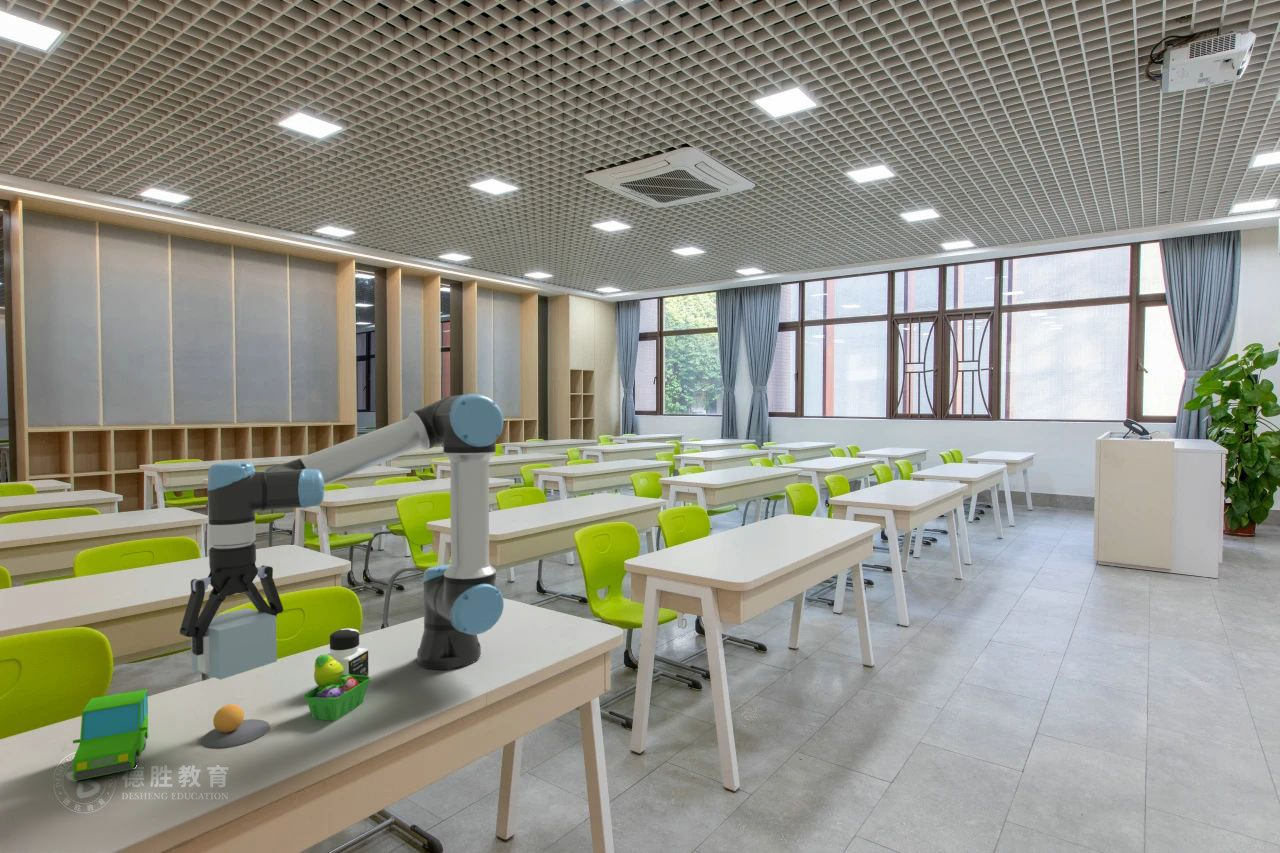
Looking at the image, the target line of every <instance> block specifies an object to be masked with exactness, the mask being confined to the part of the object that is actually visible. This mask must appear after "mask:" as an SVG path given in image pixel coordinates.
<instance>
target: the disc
mask: <svg viewBox="0 0 1280 853" xmlns="http://www.w3.org/2000/svg"><path fill="white" fill-rule="evenodd" d="M270 726H271V725H270V723H269V722H268V721H266V720H264V719H254V718H253V719H249V718H248V719H243V722H242V723H241V725H240V726H239V727H238V728H237V729H236V730H234V731H232V732H228V733H222V732H219V731H218V730H217V729H216V728H215V727H214V729H211V730H209V731H208V732H207V733H205V734H204V735H203V736H202V738H201V743H202V745H203V746H204V747H206V748H211V749H226V748H232V747H238V746H241V745H245V744H248V743H251V742H253V741H255V740H257V739H260V738H261V737H262V736H264V735H265V734H266V733H267V732H268V731H269V730H270Z"/></svg>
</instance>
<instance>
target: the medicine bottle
mask: <svg viewBox="0 0 1280 853" xmlns="http://www.w3.org/2000/svg"><path fill="white" fill-rule="evenodd" d="M326 655H328V656H331V657H332V658H333V659H335V660H336V661H338V662H339V663H340V664H341V665H342V666H343V669H344V671H343V674H351V675H360V676H369V671H370V670H369V649H368V648H363V647H360V632H359V630H358V629H355V628H341V629H339V630H335V631H334V632H331V633H330V635H329V653H326ZM369 677H370V676H369Z"/></svg>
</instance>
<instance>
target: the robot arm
mask: <svg viewBox="0 0 1280 853" xmlns="http://www.w3.org/2000/svg"><path fill="white" fill-rule="evenodd" d="M503 428H504V418H503V414H502V411H501V408H500V407H499V405H498V404H496V402H495V401H494V400H492V398H489V397H488V396H485V395H482V394H477V393H464V394H456V395H450V396H446V397H444V398H441V399H438V400H437V401H435V402H433V403H431V404H429V405H426V406H424V407H421V408H420V409H417V410H414V411H412V412H410V413H409V415H408V417H407V418H405V419H403V420H402V419H401V420H399V421H397V422H394V423H391V424H388V425H385V426H384V427H381V428H378V429H375V430H373V431H370V432H366V433H365V434H364V433H363V434H361V435H359V436H356V437H353V438H351V439H348V440H345V441H343V442H340V443H337V444H334V445H332V446H329V447H326V448H324V449H320V450H318V451H316V452H313V453H311V454H308V455H304V456H302V457H299V458H297V459H294V460H292V461H291V460H290V461H289V462H285V463H283V464H276V465H272V466H270V467H268V468H267V469H265V470H264V471H256V469H255V464H254V463H253V462H249V461H238V462H236V461H235V462H234V461H233V462H231V461H230V462H218V463H217V462H216V463H213V464H212V465H211V466H210V467H209V468H208V473H207V474H208V475H207V489H206V490H207V508H208V510H207V511H208V544H209V545H211V546H212V547H210V548H209V550H208V555H209V557H208V559H209V562H208V563H209V564H208V566H209V574H208V576H207V577H205V578H200V579H196V578H194V579H191V580H190V595H189V598H188V603H187V605H186V609H185V612H184V616H183V620H182V623H181V626H180V629H179V634H180V635H181V636H184V637H187V638H191V637H192V651H191V653H192V652H193V654H194V655H197V656H198V670H199V671H201V672H204V673H207V672H210V656H209V636H207V635H204V634H205V632H206V631H207V629H208V627H209V625H210V623H211V621H212V619H213V618H214V616H216V614H217V612H218V609H220V606H221V604H222V603H223V602H224V601H225V600H226V598H227V597H231V596H234V595H236V594H243V593H244V594H245V595H246V596H247V598H248V600H250V602H251V604H253V605H254V607H255V609H256V611H260V612H263V613H267V614H271V615H275V616H276V618H277V617H278V615H279V614H283V612H284V607H283V604H282V600H281V598H280V595H279V593H278V589H277V587H276V583H275V581H274V578H273V576H274V575H273V574H274V568H273V567H272V566H269V565H261V566H259V567H257V565H256V561H257V547H256V546H257V545H256V544H255V543H254V542H255V541H256V540H257V536H256V535H257V534H256V512H257V511H260V512H261V511H262V512H263V511H271V510H272V511H274V510H287V509H301V508H302V509H306V508H310V507H318V506H320V505H321V504H322V503H323V502H324V497H325V486H327V485H328V484H331V483H334V482H335V483H336V481H339V480H342V479H344V478H347V477H350V476H353V475H354V474H358V473H360V472H362V471H365V470H367V469H370V468H372V467H375V466H378V465H380V464H382V463H385V462H387V461H390V460H393V459H395V458H397V457H401V456H403V455H406V454H408V453H411V452H413V451H416V450H418V449H422V450H425V451H427V450H429V449H432V448H435V447H439V446H442V447H443V456H445V457H446V458H447V459H449V461H450V564H449V563H448V564H441V565H436V566H435V565H434V566H431V567H428V568H427V569H425V570H424V573H423V581H422V584H423V586H422V587H423V624H424V625H423V627H424V628H423V633H422V636H421V641H420V645H419V648H418V649H417V652H416V661H417V664H418V665H419V666H420V665H421V666H420V667H422V666H423V667H422V668H425V667H426V668H425V669H429V668H430V669H429V670H448V668H451V669H456V668H455V667H457V668H461V667H460V666H462V667H464V666H463V665H465V666H468V665H470V664H469V663H471V662H473V661H475V660H477V659H478V658H479V657H480V658H481V656H482V649H481V647H482V646H481V643H480V641H479V638H478V635H480V634H484V633H486V632H488V631H489V630H491V629H492V628H493V627H494V626H495V625H496V624H497V623H498V622H499V620H500V618H501V616H502V615H503V612H504V606H505V605H504V604H505V602H504V597H503V595H502V593H501V591H500V589H499V588H498V587H497V570H496V568H495V567H493V566H492V564H490V460H491V458H493V457H494V455H495V454H496V448H497V446H496V445H497V444H496V441H497V440H498V438H499V437H500V436H501V434H502V433H503ZM256 576H257V577H258V578H259V580H260V583H261V586H262V589H263V592H264V595H265V597H266V600H267V602H266V600H265V599H264V598H263V596H262V595H261V594H260V592H259V590H258V588H257V586H256V585H255V584H254V580H255V579H256ZM209 585H210V586H211V587H212V589H211V591H210V593H209V594H208V599H207V601H206V603H205V605H204V606H203V609H202V605H203V602H204V598H205V594H206V591H207V590H208V587H209ZM201 609H202V610H201ZM480 655H481V656H480ZM480 658H479V659H480ZM479 659H478V660H479ZM478 660H477V661H478ZM475 662H476V661H475ZM473 663H474V662H473ZM467 664H468V665H467ZM471 664H472V663H471ZM199 671H198V672H199ZM201 672H200V673H201ZM204 673H203V674H204Z"/></svg>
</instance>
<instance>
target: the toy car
mask: <svg viewBox="0 0 1280 853" xmlns="http://www.w3.org/2000/svg"><path fill="white" fill-rule="evenodd" d="M148 699H149V698H148V688H147V689H141V690H136V691H135V690H134V691H128V692H122V693H115V694H110V695H103V696H97V697H92V698H90V699H89V701H88V703H87V704H86V706H85V707H84V709H83V710H82V711H81V721H80V722H81V724H80V735H79V738H78V739H74V740H73V739H72V744H78V743H79V745H78V747H77V749H76V752H75V754H74V757H73V759H72V766H73V767H72V768H73V769H72V772H73V776H72V777H73V782H76V781H77V780H80V781H83V780H82V779H85V780H87V779H90V778H96V777H101V776H105V775H111V774H114V773H121V772H125V771H131V770H130V769H133V768H135V767H136V765H137V766H138V764H139V757H141V755H142V752H143V751H144V750H145V749H146V745H147V739H149V709H148V708H149V706H148V704H149V703H148V701H149V700H148ZM137 763H138V764H137ZM133 770H134V769H133ZM77 782H78V781H77Z"/></svg>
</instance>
